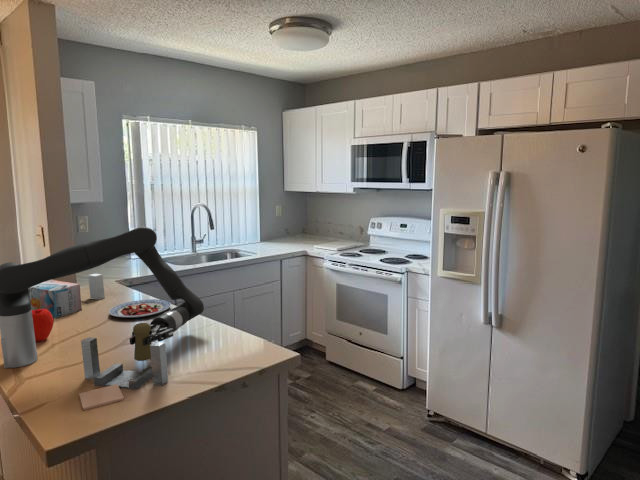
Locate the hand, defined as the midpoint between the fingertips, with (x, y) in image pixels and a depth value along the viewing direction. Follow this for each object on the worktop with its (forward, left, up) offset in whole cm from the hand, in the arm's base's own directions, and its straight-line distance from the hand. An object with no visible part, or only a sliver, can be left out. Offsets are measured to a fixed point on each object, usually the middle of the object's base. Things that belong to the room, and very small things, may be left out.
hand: (137, 342), depth 144 cm
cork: (+2, +2, -6) cm, 7 cm away
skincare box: (0, +101, -9) cm, 102 cm away
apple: (-26, +50, -9) cm, 57 cm away
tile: (-13, -13, -9) cm, 20 cm away
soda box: (-24, +98, -10) cm, 101 cm away
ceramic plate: (+13, +64, -10) cm, 66 cm away
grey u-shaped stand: (-5, -5, -9) cm, 12 cm away
